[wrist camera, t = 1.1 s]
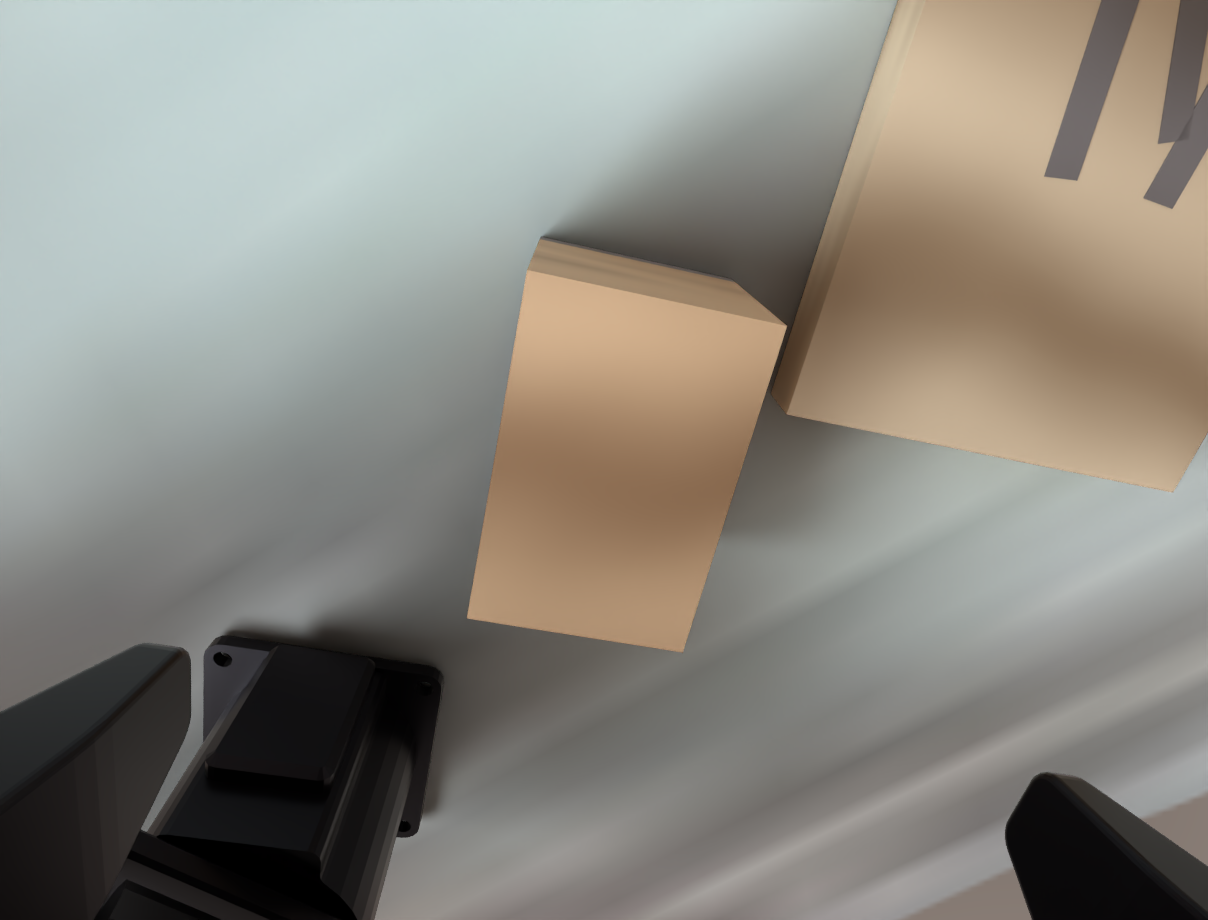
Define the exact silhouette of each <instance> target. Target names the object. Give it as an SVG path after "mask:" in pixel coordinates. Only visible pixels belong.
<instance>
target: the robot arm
mask: <svg viewBox="0 0 1208 920" xmlns="http://www.w3.org/2000/svg"><path fill="white" fill-rule="evenodd" d="M221 652H225V653H227V654H229V655H230V656H231V657H230V658H229V657H226V656H224V655H223V654H222V653H221ZM419 682H427V683H429V684H430V685H431V686H426V687H425V686H423V685H421V684H420V683H419ZM443 684H444V678H443V675H442V674H441V672H440V671H439V670H437V669H436V668H434V667H431V666H427V665H420V664H413V663H407V662H400V661H394V660H387V659H380V658H374V657H367V656H360V655H354V654H347V653H341V652H334V651H327V650H321V649H314V648H307V647H301V646H294V645H288V644H281V643H274V642H268V641H261V640H255V639H248V638H241V637H235V636H220V637H218V638H216V639H215V640H214V641H213V642H212V643H211V644H210V646H209V647H208V648H207V650H206V651H205V654H204V718H203V744H202V746H201V747H200V749H199V750H198V752H197V754H196V755H195V757H194V758H193V760H192V762H191V763H190V765H189V766H188V768H187V769H186V771H185V773H184V774H183V776H182V777H181V779H180V781H179V782H178V784H177V785H176V787H175V788H174V790H173V792H172V793H171V795H170V796H169V798H168V799H167V801H166V803H165V804H164V806H163V807H162V809H161V811H160V812H159V814H158V815H157V817H156V818H155V820H154V822H153V823H152V825H151V826H150V828H149V830H148V831H147V832H145V831H143V830H141V827H142V825H143V823H144V821H145V819H146V817H147V815H148V813H149V811H150V809H151V807H152V805H153V803H154V801H155V799H156V797H157V795H158V793H159V791H160V788H161V786H162V784H163V782H164V780H165V778H166V776H167V774H168V772H169V770H170V768H171V766H172V764H173V762H174V760H175V758H176V756H177V754H178V751H179V749H180V747H181V745H182V743H183V741H184V739H185V736H186V734H187V731H188V727H189V724H190V718H191V660H190V656H189V653H188V652H187V651H186V650H185V649H183V648H181V647H174V646H167V645H160V644H153V643H142V644H138V645H135V646H133V647H131V648H129V649H127V650H125V651H123V652H121V653H119V654H117V655H115V656H113V657H111V658H109V659H107V660H104V661H102V662H100V663H98V664H96V665H94V666H92V667H90V668H88V669H86V670H84V671H82V672H80V673H78V674H76V675H74V676H72V677H70V678H68V679H66V680H64V681H62V682H60V683H58V684H56V685H54V686H52V687H50V688H48V689H46V690H44V691H42V692H39V693H37V694H35V695H33V696H31V697H29V698H27V699H25V700H23V701H21V702H19V703H17V704H15V705H13V706H11V707H9V708H7V709H5V710H3V711H1V712H0V920H374V919H375V915H376V911H377V907H378V903H379V900H380V896H381V892H382V888H383V885H384V881H385V877H386V873H387V870H388V866H389V862H390V858H391V854H392V851H393V847H394V843H395V839H396V837H401V838H403V837H410V836H413V835H414V834H416V833H417V831H418V829H419V826H420V821H421V817H422V811H423V805H424V799H425V793H426V787H427V781H428V775H429V769H430V763H431V757H432V751H433V745H434V739H435V733H436V727H437V721H438V715H439V709H440V703H441V696H442V690H443ZM402 820H404V821H402ZM1005 840H1006V846H1007V849H1008V852H1009V855H1010V858H1011V861H1012V864H1013V867H1014V870H1015V872H1016V875H1017V878H1018V881H1019V884H1020V887H1021V890H1022V892H1023V895H1024V898H1025V901H1026V904H1027V907H1028V910H1029V913H1030V915H1031V918H1032V920H1208V866H1206V865H1205V864H1204V863H1202V862H1201V861H1199V860H1198V859H1196V858H1195V857H1194V856H1192V855H1191V854H1189V853H1188V852H1187V851H1185V850H1184V849H1182V848H1181V847H1179V846H1178V845H1176V844H1175V843H1174V842H1172V841H1171V840H1169V839H1168V838H1167V837H1165V836H1164V835H1162V834H1161V833H1159V832H1158V831H1157V830H1155V829H1154V828H1152V827H1151V826H1149V825H1148V824H1147V823H1145V822H1144V821H1142V820H1141V819H1139V818H1138V817H1137V816H1135V815H1134V814H1132V813H1131V812H1129V811H1128V810H1127V809H1125V808H1124V807H1122V806H1121V805H1119V804H1118V803H1117V802H1115V801H1114V800H1112V799H1111V798H1109V797H1108V796H1107V795H1105V794H1104V793H1102V792H1101V791H1099V790H1098V789H1097V788H1095V787H1094V786H1092V785H1091V784H1089V783H1088V782H1086V781H1085V780H1083V779H1081V778H1079V777H1076V776H1072V775H1066V774H1059V773H1052V772H1043V773H1040V774H1038V775H1036V776H1035V777H1034V778H1033V779H1032V780H1031V782H1030V784H1029V785H1028V787H1027V789H1026V790H1025V792H1024V794H1023V796H1022V797H1021V799H1020V801H1019V802H1018V804H1017V806H1016V807H1015V809H1014V811H1013V813H1012V814H1011V816H1010V818H1009V819H1008V822H1007V824H1006V829H1005Z"/></svg>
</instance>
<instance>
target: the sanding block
mask: <svg viewBox="0 0 1208 920" xmlns="http://www.w3.org/2000/svg"><path fill="white" fill-rule="evenodd" d="M786 328H787V326H786V325H785V324H784V323H783V322H782V321H781V320H779V319H778V318H777V317H776V316H775V315H773V314H772V313H771V312H770V311H769V310H768V309H766V308H765V307H764V306H763V305H762V304H760V303H759V302H758V301H757V300H756V299H754V298H753V297H752V296H751V295H750V294H749V293H747V292H746V291H745V290H744V289H743V288H741V287H740V286H739V285H738V284H737V283H736V282H734V281H733V280H732V279H730V278H725V277H721V276H716V275H712V274H707V273H703V272H698V271H694V270H689V269H685V268H680V267H676V266H671V265H667V264H662V263H658V262H653V261H649V260H644V259H640V258H635V257H631V256H626V255H622V254H617V253H613V252H608V251H604V250H599V249H595V248H590V247H586V246H581V245H577V244H572V243H568V242H563V241H559V240H554V239H550V238H545V237H541V238H540V240H539V242H538V245H537V247H536V250H535V252H534V255H533V257H532V259H531V262H530V264H529V267H528V269H527V274H526V280H525V286H524V291H523V297H522V303H521V309H520V314H519V320H518V326H517V332H516V337H515V343H514V349H513V355H512V361H511V366H510V372H509V378H508V384H507V389H506V395H505V401H504V407H503V412H502V418H501V424H500V430H499V436H498V441H497V447H496V453H495V459H494V464H493V470H492V476H491V482H490V488H489V493H488V499H487V505H486V511H485V516H484V522H483V528H482V534H481V539H480V545H479V551H478V557H477V563H476V568H475V574H474V580H473V586H472V591H471V597H470V603H469V609H468V614H467V619H473V620H480V621H486V622H492V623H499V624H505V625H511V626H518V627H524V628H530V629H537V630H543V631H549V632H556V633H562V634H568V635H575V636H581V637H587V638H594V639H600V640H606V641H613V642H619V643H625V644H632V645H638V646H644V647H651V648H657V649H663V650H670V651H676V652H682V653H683V650H684V647H685V644H686V641H687V638H688V634H689V631H690V628H691V625H692V622H693V619H694V616H695V613H696V609H697V606H698V603H699V600H700V597H701V594H702V591H703V588H704V584H705V581H706V578H707V575H708V572H709V569H710V566H711V563H712V559H713V556H714V553H715V550H716V547H717V544H718V541H719V538H720V534H721V531H722V528H723V525H724V522H725V519H726V516H727V513H728V509H729V506H730V503H731V500H732V497H733V494H734V491H735V488H736V484H737V481H738V478H739V475H740V472H741V469H742V466H743V463H744V459H745V456H746V453H747V450H748V447H749V444H750V441H751V438H752V434H753V431H754V428H755V425H756V422H757V419H758V416H759V413H760V409H761V406H762V403H763V400H764V397H765V394H766V391H767V388H768V384H769V381H770V378H771V375H772V372H773V369H774V366H775V363H776V359H777V356H778V353H779V350H780V347H781V344H782V341H783V337H784V334H785V331H786Z"/></svg>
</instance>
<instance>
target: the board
mask: <svg viewBox="0 0 1208 920" xmlns="http://www.w3.org/2000/svg"><path fill="white" fill-rule="evenodd" d="M771 395H772V397H773V398H774V399H775V400H776V402H777V403H778V404H779V405H780V407H781V408H782V409H783V410H784V412H785V413H786V414H787V415H791V416H796V417H801V418H806V419H811V420H816V421H821V422H826V423H831V424H836V425H841V426H846V427H851V428H856V429H861V430H866V431H871V432H876V433H881V434H886V435H890V436H895V437H900V438H905V439H910V440H915V441H920V442H925V443H930V444H935V445H940V446H945V447H950V448H955V449H960V450H965V451H970V452H975V453H980V454H985V455H989V456H994V457H999V458H1004V459H1009V460H1014V461H1019V462H1024V463H1029V464H1034V465H1039V466H1044V467H1049V468H1054V469H1059V470H1064V471H1069V472H1074V473H1079V474H1084V475H1089V476H1093V477H1098V478H1103V479H1108V480H1113V481H1118V482H1123V483H1128V484H1133V485H1138V486H1143V487H1148V488H1153V489H1158V490H1163V491H1168V492H1173V491H1174V490H1175V488H1176V486H1177V485H1178V483H1179V481H1180V479H1181V478H1182V476H1183V474H1184V473H1185V471H1186V469H1187V467H1188V466H1189V464H1190V462H1191V461H1192V459H1193V457H1194V455H1195V454H1196V452H1197V450H1198V448H1199V447H1200V445H1201V443H1202V442H1203V440H1204V438H1205V436H1206V435H1207V433H1208V0H898V1H897V5H896V8H895V11H894V14H893V17H892V20H891V23H890V26H889V29H888V32H887V36H886V39H885V42H884V45H883V48H882V51H881V54H880V57H879V60H878V63H877V67H876V70H875V73H874V76H873V79H872V82H871V85H870V88H869V91H868V94H867V97H866V101H865V104H864V107H863V110H862V113H861V116H860V119H859V122H858V125H857V128H856V132H855V135H854V138H853V141H852V144H851V147H850V150H849V153H848V156H847V159H846V163H845V166H844V169H843V172H842V175H841V178H840V181H839V184H838V187H837V190H836V194H835V197H834V200H833V203H832V206H831V209H830V212H829V215H828V218H827V221H826V224H825V228H824V231H823V234H822V237H821V240H820V243H819V246H818V249H817V252H816V255H815V259H814V262H813V265H812V268H811V271H810V274H809V277H808V280H807V283H806V286H805V290H804V293H803V296H802V299H801V302H800V305H799V308H798V311H797V314H796V317H795V320H794V324H793V327H792V330H791V333H790V336H789V339H788V342H787V345H786V348H785V351H784V355H783V358H782V361H781V364H780V367H779V370H778V373H777V376H776V379H775V382H774V386H773V389H772V392H771Z"/></svg>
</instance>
